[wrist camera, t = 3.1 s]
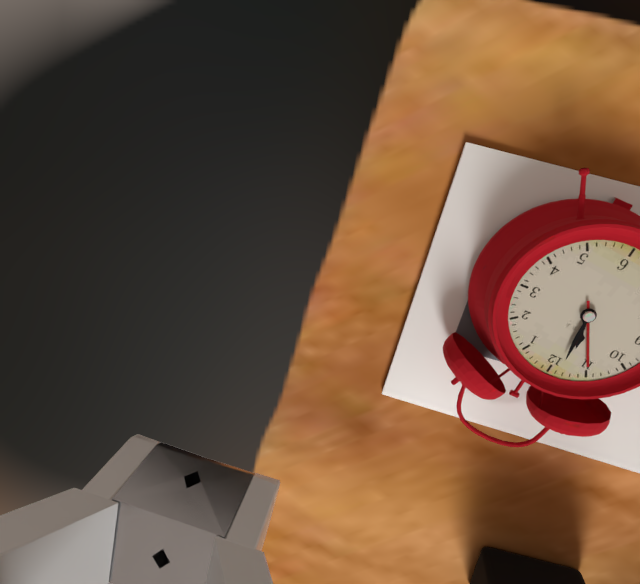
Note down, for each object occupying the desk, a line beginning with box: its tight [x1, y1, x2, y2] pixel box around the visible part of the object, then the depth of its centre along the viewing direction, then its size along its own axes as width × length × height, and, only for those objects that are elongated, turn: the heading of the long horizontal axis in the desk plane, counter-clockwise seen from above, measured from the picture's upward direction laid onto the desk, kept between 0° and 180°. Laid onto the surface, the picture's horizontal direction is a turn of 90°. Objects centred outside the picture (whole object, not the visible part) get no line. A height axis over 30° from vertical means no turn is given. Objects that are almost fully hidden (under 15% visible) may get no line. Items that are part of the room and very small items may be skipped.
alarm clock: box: [443, 168, 640, 447], centre depth 24 cm, size 10×6×15 cm
